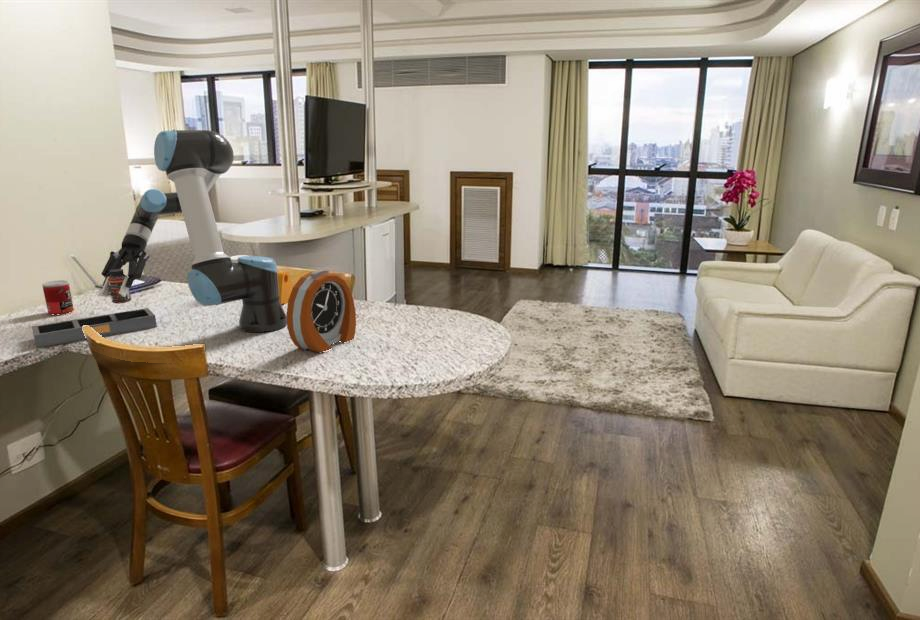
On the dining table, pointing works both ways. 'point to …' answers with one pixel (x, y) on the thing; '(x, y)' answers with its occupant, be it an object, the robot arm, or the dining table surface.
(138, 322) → the compartment tray
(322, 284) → the alarm clock
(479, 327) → the dining table surface
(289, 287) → the yellow cheese block
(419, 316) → the dining table surface
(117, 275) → the supplement bottle
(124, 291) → the robot arm
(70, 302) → the canned food
